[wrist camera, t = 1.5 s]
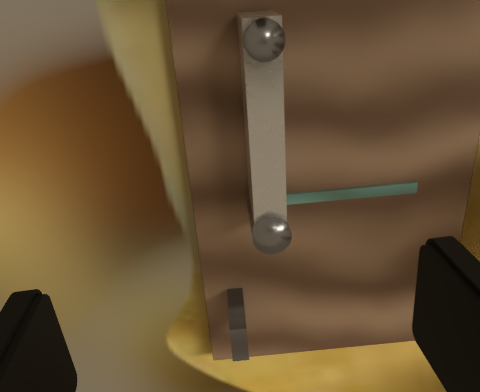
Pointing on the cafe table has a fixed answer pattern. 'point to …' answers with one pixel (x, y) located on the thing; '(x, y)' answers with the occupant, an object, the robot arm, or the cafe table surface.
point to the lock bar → (264, 127)
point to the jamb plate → (329, 164)
